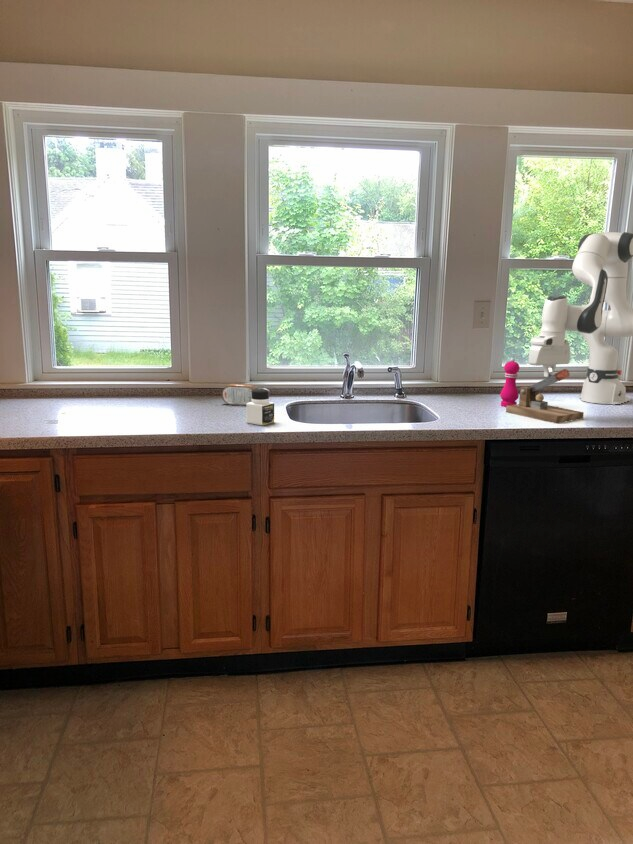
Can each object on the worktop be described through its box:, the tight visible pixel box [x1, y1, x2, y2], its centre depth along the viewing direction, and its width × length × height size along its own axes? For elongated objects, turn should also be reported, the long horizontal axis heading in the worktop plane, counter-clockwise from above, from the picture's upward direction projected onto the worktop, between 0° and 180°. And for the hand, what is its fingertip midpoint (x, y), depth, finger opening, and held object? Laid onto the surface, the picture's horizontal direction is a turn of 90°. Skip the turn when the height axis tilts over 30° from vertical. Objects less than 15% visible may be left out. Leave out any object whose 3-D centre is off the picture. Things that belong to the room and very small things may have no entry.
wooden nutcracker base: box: [505, 385, 584, 424], centre depth 242 cm, size 16×23×10 cm
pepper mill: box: [499, 357, 520, 408], centre depth 258 cm, size 7×7×20 cm
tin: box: [221, 383, 257, 407], centre depth 252 cm, size 15×3×8 cm, turn 80°
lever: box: [528, 368, 570, 394], centre depth 241 cm, size 21×3×3 cm, turn 33°
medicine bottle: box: [245, 387, 275, 426], centre depth 221 cm, size 7×7×12 cm
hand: (548, 376), depth 238 cm, fingers closed, pressing on lever
